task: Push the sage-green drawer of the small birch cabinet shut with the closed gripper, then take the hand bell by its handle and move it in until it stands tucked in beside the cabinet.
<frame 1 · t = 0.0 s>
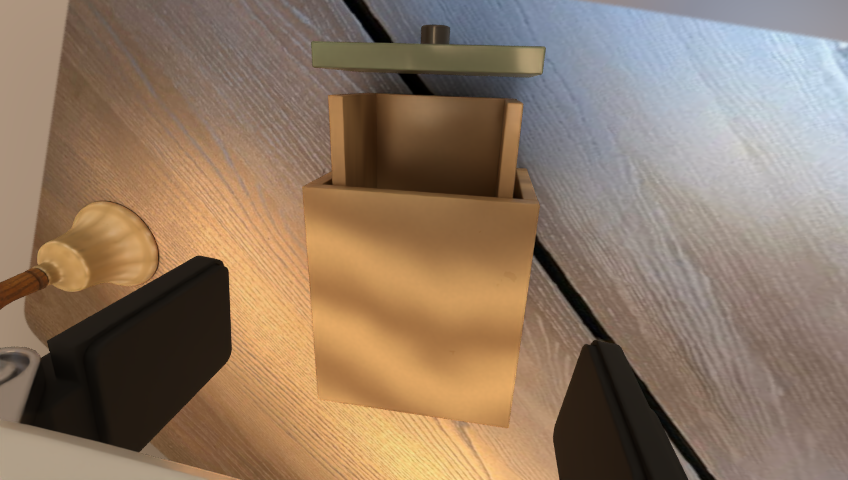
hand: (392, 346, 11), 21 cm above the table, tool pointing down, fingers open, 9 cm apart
cabinet: (435, 253, 33), on the table
hand bell: (119, 243, 38), on the table
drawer: (430, 159, 25), point 5 cm above the table, slide at 6.0 cm
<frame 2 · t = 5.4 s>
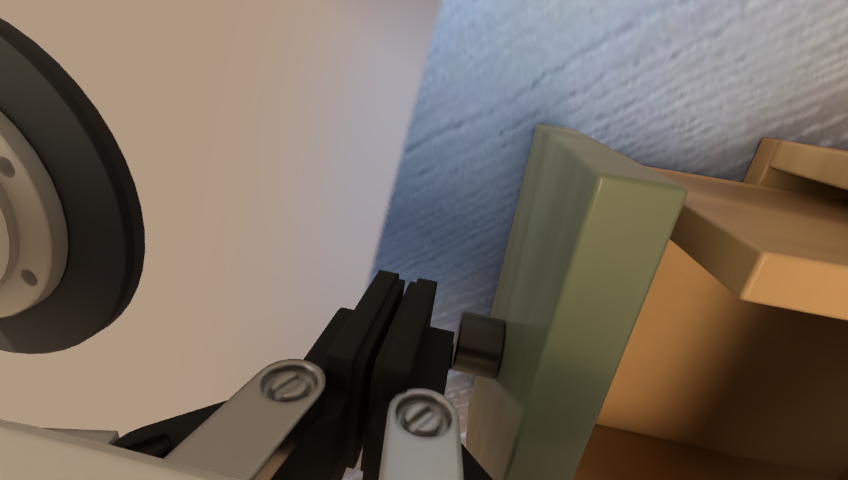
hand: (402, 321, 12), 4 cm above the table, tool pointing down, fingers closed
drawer: (735, 399, 11), point 5 cm above the table, slide at 5.7 cm, touching gripper
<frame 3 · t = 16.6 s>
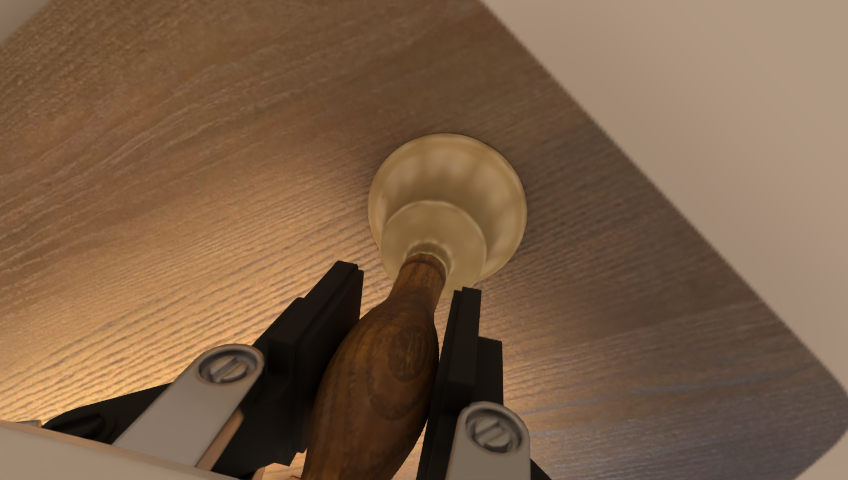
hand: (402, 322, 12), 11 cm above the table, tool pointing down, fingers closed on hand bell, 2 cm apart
hand bell: (445, 213, 21), on the table, touching gripper
when the fingers open (11 cm above the table, at t = 23.3 s): hand bell stays where it is, on the table.
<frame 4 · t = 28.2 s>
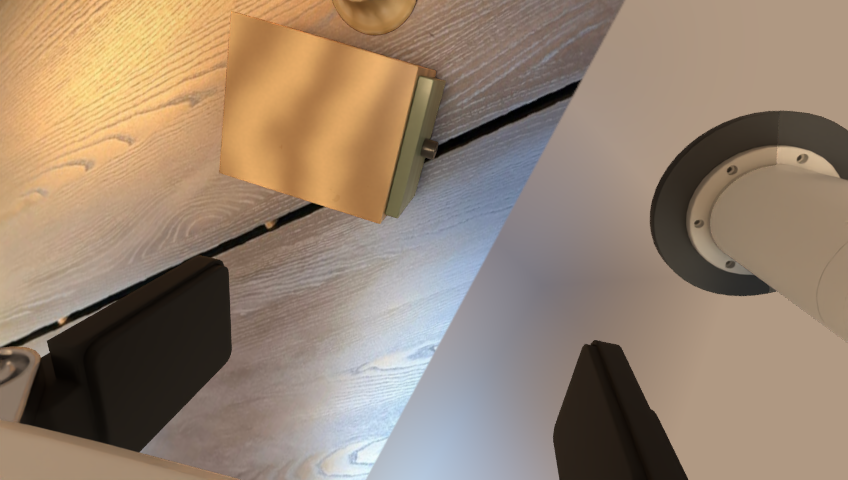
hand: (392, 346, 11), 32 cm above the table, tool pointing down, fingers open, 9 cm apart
cabinet: (350, 115, 41), on the table
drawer: (357, 127, 36), point 5 cm above the table, slide at 0.0 cm, touching cabinet
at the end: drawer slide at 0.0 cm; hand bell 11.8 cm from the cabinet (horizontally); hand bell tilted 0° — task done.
